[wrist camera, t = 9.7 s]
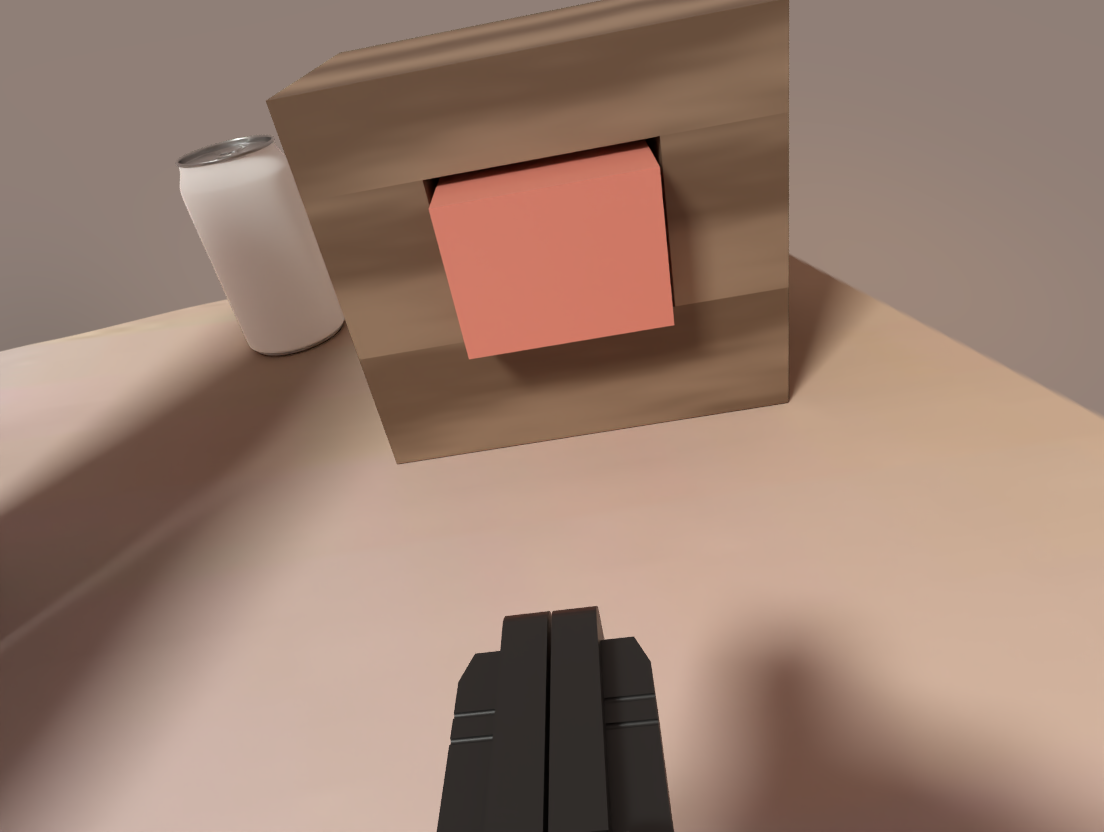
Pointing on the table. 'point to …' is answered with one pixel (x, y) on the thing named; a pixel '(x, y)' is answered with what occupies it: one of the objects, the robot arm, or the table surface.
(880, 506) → the table surface
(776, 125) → the switch box
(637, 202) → the pink rectangular block
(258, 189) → the can
